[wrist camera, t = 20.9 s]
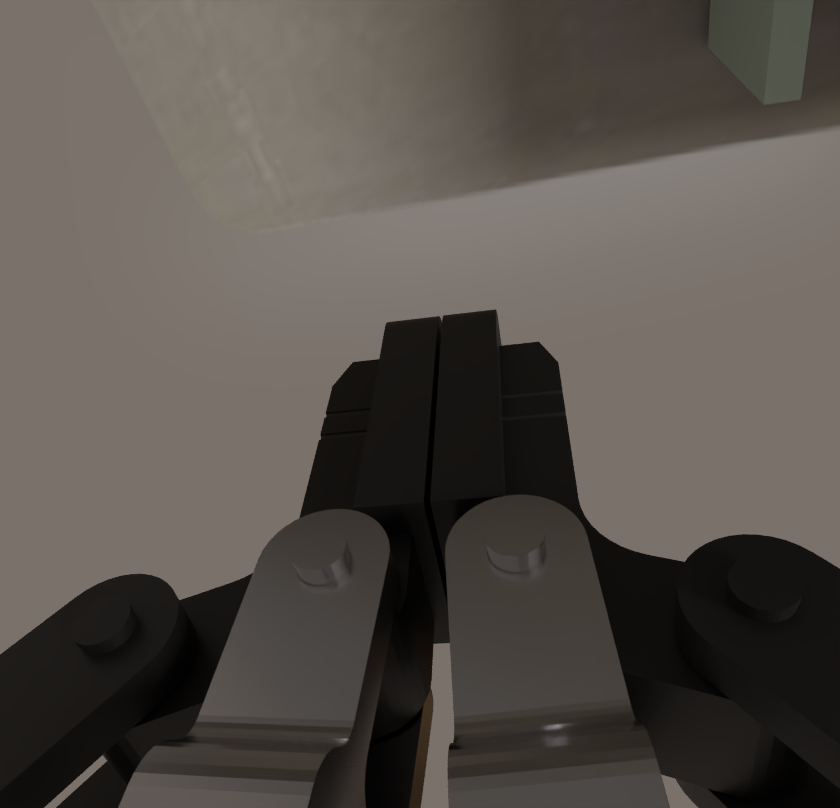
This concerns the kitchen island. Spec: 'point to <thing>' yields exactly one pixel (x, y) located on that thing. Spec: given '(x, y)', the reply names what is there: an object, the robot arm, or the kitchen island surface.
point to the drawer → (763, 44)
